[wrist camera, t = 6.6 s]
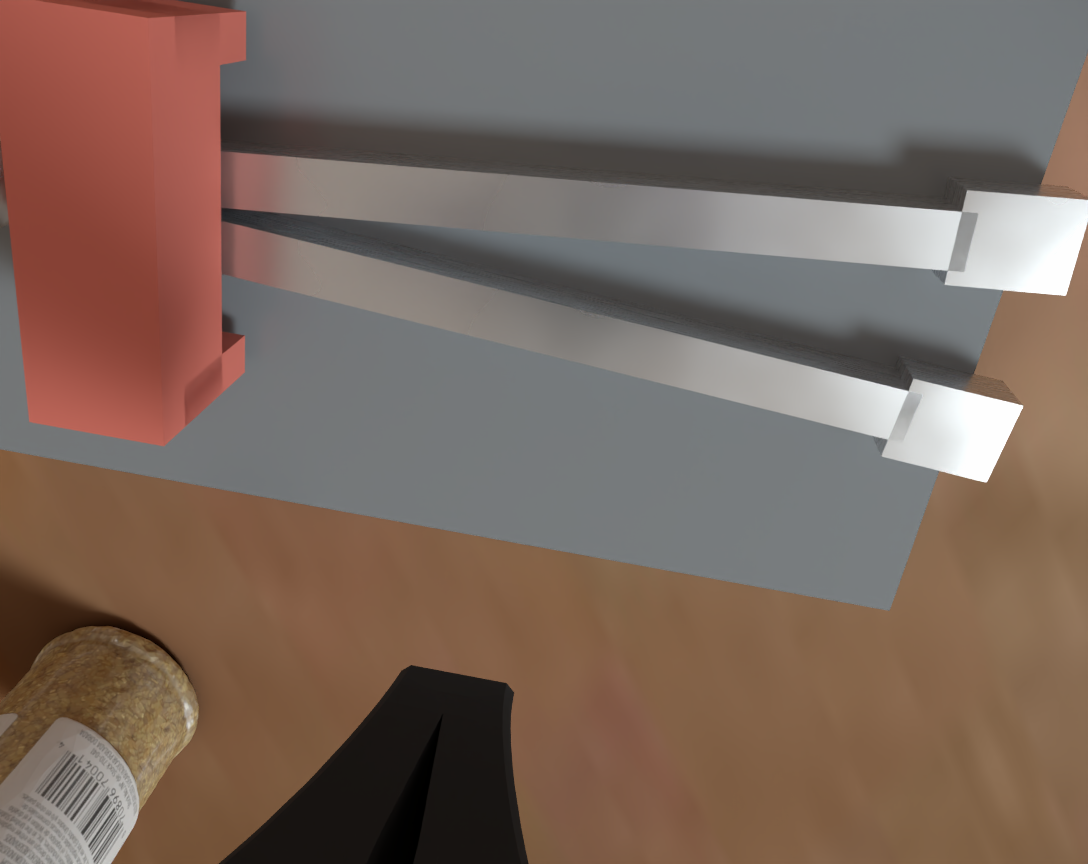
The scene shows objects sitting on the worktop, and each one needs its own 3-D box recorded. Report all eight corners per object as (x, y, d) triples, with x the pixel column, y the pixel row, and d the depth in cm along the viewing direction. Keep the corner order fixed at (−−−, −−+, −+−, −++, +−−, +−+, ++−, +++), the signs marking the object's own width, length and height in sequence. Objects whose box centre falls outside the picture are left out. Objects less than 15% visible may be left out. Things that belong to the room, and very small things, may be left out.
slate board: (1099, -63, 16) (1129, -67, 15) (878, 579, 22) (889, 610, 21) (-43, -231, 17) (-91, -245, 16) (26, 426, 23) (-6, 448, 22)
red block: (245, 11, 17) (148, 18, 14) (244, 371, 20) (164, 446, 17) (112, -10, 17) (-16, -9, 14) (131, 352, 20) (29, 421, 17)
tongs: (1073, 187, 17) (1106, 204, 16) (975, 455, 19) (997, 488, 18) (-65, 5, 18) (-121, 7, 17) (-31, 280, 20) (-79, 301, 19)
